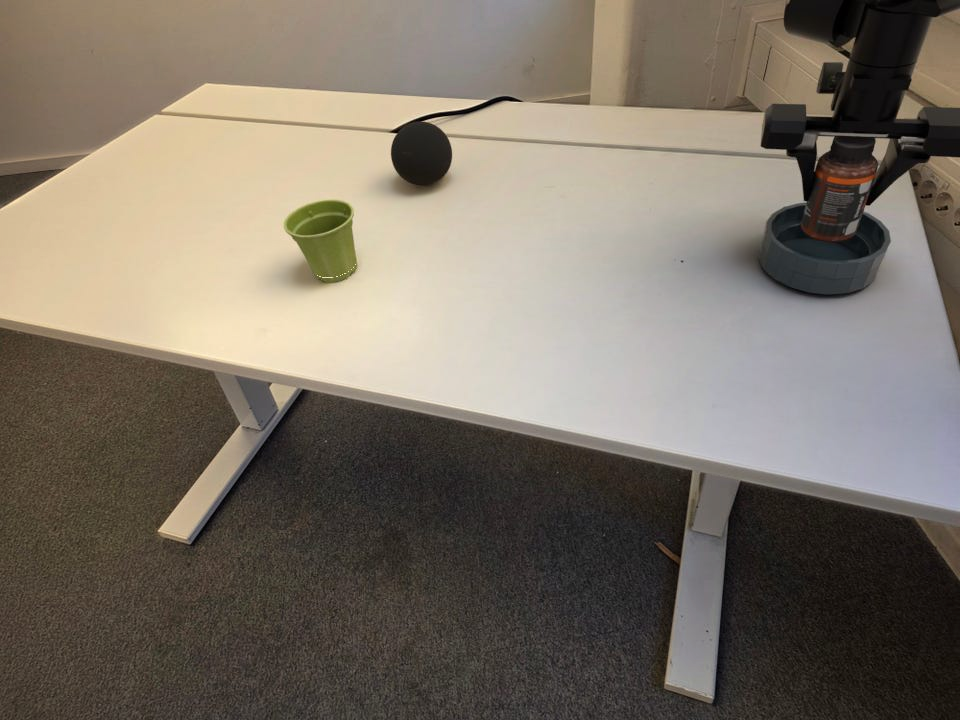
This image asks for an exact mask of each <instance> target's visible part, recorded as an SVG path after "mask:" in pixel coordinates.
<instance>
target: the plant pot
mask: <svg viewBox="0 0 960 720" xmlns="http://www.w3.org/2000/svg"><path fill="white" fill-rule="evenodd" d="M354 216H355V210H354V207H353V206H352V204H351V203H349V202H347V201H345V200H341V199H322V200H317V201H312V202H310V203H307V204H304V205H302V206H300V207H298V208H296V209H295V210H293V211H292V212H291V213H289V214H288V215H287V216H286V218H285V219H284V221H283V229H284V230H285V233H286V234H287V235H289V236H290V237H291V238H292V240H293V241H294V242H295V243H296V244H297V246H298V248H299V249H300V251H301V253H302V254H303V256H304V258H305V260H306V261H307V263H308V266H309V267H310V269H311V270H312V273H313V274H314V273H315V274H316V275H315V274H314V276H315V278H316V279H317V280H322V281H324V282H325V283H335V282H339V281H343V280H345V279H348V277H349V276H350V275H351V274H352V273H353V272H356V270H357V268H358V262H357V254H356V247H355V238H354V231H353V221H354V220H353V218H354ZM355 264H356V265H355ZM353 267H354V268H353ZM351 269H352V270H351ZM348 271H349V272H348ZM344 273H346V274H344ZM342 274H343V275H342ZM317 275H318V276H317ZM340 275H341V276H340ZM319 276H321V277H319ZM336 276H338V277H336ZM322 277H333V278H322Z"/></svg>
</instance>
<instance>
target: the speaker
mask: <svg viewBox="0 0 960 720" xmlns="http://www.w3.org/2000/svg"><path fill="white" fill-rule="evenodd" d="M390 159H391V162H392V166H393V168H394V170H395V172H396V173H397V175H399V177H400V178H401V179H403V181H405V182H406V183H409V184H411V185H413V186H418V187H427V186H432V185H434V184H436V183H438V182H440V181H441V180H442V179H443V178H444V177H445V176H446V175H447V173H448V172H449V170H450V168H451V166H452V161H453V148H452V145H451V142H450V140H449V137H448V135H447V134H446V133H445V131H443V129H442V128H440V127H439V126H438V125H436V124H434V123H431V122H429V121H421V120H419V121H414V122H410V123H407V124H406V125H404V126H403V127H402V128H400V130H398V132H397V133H396V134H395V136H394V138H393V140H392V143H391V147H390Z"/></svg>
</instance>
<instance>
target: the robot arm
mask: <svg viewBox="0 0 960 720" xmlns="http://www.w3.org/2000/svg"><path fill="white" fill-rule="evenodd" d="M788 1H789V2H788V3H786V5H785V9H784V13H783V27H784V29H785V31H786V32H787V34H789V35H790V36H793V37H798V38H802V39H804V40H805V39H806V40H809V41H813V42H816V43H821V44H824V45H828V46H831V47H835V48H837V47H839V48H840V47H843V46H845V45H847V44H848V43H850V42H851V41H852V40H853V39H854V41H853V44H852V47H851V52H850V55H849V58H848V61H847V65H846V69H845V71H843V69H844V62H842V61H841V62H839V61H835V62H834V61H827V62H826V61H825V62H822V66H821V70H820V73H819V77H818V82H817V85H816V94H818V95H833V96H832V100H831V103H830V111H831V112H833V113H832V116H817V115H813V116H811V115H807V103H806V104H805V103H771V104H770V105H769V106H768V107H767V108H765V110H764V116H763V119H762V125H761V134H760V147H761V148H762V149H765V150H780V151H785V155H786V156H787V157H789V158H795V159H796V162H797V165H798V169H799V172H800V177H801V185H802V186H801V187H802V197H803V198H802V199H803V202H805V203H807V201H808V199H809V196H810V194H811V189H812V183H813V177H814V172H815V168H816V165H817V158H818V144H817V143H818V142H817V141H818V139H819V137H833V138H834V137H857V138H875V139H885V140H886V139H887V140H888V144H887V147H886V150H885V154H884V156H883V157H882V160H881V162H880V164H879V165H878V169H877V172H876V175H875V179H874V182H873V184H872V187H871V190H870V193H869V196H868V199H867V202H866V205H865V207H866V206H867V207H868V206H871V205H872V204H873V203H874V202H875V201H876V200H877V199H878V198H879V197H880V196H881V195H882V194H884V193H885V191H887V190H888V188H890V187H891V186H892V185H893V184H894V183H895V182H896V181H897V180H898V179H899V178H901V177H903V176H904V175H905V174H906V173H907V172H909V171H910V170H912V168H913V167H915V166H916V165H918V164H927V163H929V161H930V160H931V157H937V158H939V157H940V158H960V107H946V106H945V107H944V106H943V107H942V106H938V107H937V106H923V107H921V109H920V110H919V111H918V113H917V115H916V117H905V118H897V117H898V115H899V112H900V109H901V106H902V103H903V101H904V98H905V95H906V92H907V91H909V89H910V86H911V83H912V81H913V79H912V76H913V73H914V70H915V68H916V65H917V63H918V59H919V57H920V54H921V51H922V48H923V46H924V43H925V40H926V38H927V35H928V32H929V30H930V27H931V24H932V21H933V19H934V18H938V17H941V16H944V15H946V14H950V13H953V12H955V11H958V10H960V0H788Z"/></svg>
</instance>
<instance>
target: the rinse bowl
mask: <svg viewBox="0 0 960 720" xmlns="http://www.w3.org/2000/svg"><path fill="white" fill-rule="evenodd" d="M806 203H807V202H798V203H793V204H789V205H786V206H783V207H781V208H780V209H778V210H776V211H774V212H773V213H771V215H769V217H768V219H766V222H765V226H764V230H763V235H762V239H761V243H760V245H759V246H760V247H759V251H758V261H759V263H760V265H761V267H762V270H763V271H765V273H766V274H768V275H769V276H770V277H771V278H772V279H773V280H775V281H777V282H779V283H781V284H783V285H785V286H787V287H789V288H792V289H795V290H800V291H802V292H806V293H810V294H819V295H839V294H840V295H841V294H849V293H853V292H856V291H859V290H863V289H865V288H867V286H869V285H870V284H872V283H873V282H874V281H875V279H876V278H877V275H878V273H879V271H880V269H881V267H882V264H883V261H884V260H885V257H886V254H887V252H888V250H889V248H890V246H891V245H890V244H891V242H892V239H891V233H890V230H889V229H888V228H887V226H886V225H885V224H884V223H883V222H882V221H881V220H879V219H878V218H877V217H875V216H874V215H872V214H870V213H869V212H867V211H865V210H864V211H863V214H862V217H861V220H860V223H859V227H858V228H857V231H856V233H855V235H854V236H853V237H851V238H850V239H847V240H844V241H840V242H825V241H819V240H816V239H813V238H811V237H809V236H808V235H806V234H805V233H804V232H803V230H802V228H801V223H802V218H803V214H804V210H805V206H806Z"/></svg>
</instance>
